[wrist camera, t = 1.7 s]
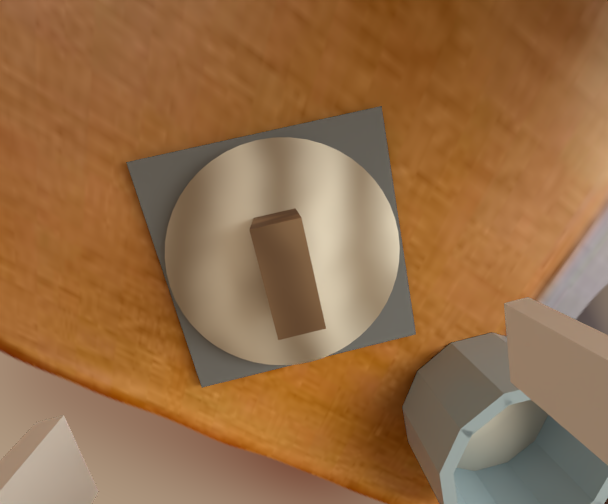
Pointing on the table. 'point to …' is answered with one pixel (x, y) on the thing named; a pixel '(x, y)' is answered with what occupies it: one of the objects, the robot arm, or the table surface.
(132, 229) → the table surface
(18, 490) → the robot arm
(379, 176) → the mat
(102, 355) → the table surface
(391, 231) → the lid
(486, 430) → the bowl
